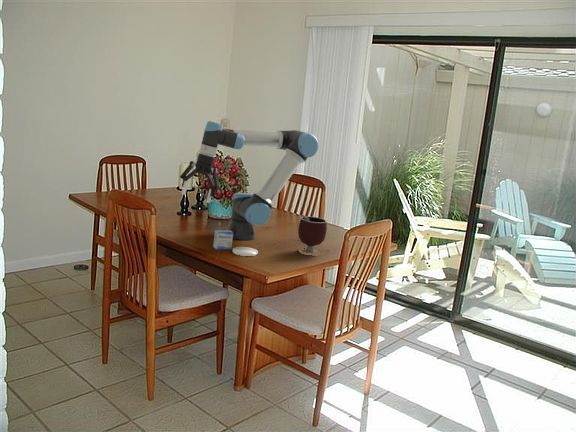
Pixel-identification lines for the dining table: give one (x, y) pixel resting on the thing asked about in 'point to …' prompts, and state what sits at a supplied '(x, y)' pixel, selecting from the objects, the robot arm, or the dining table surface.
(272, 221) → the dining table surface
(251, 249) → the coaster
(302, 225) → the mate gourd
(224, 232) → the medicine box
